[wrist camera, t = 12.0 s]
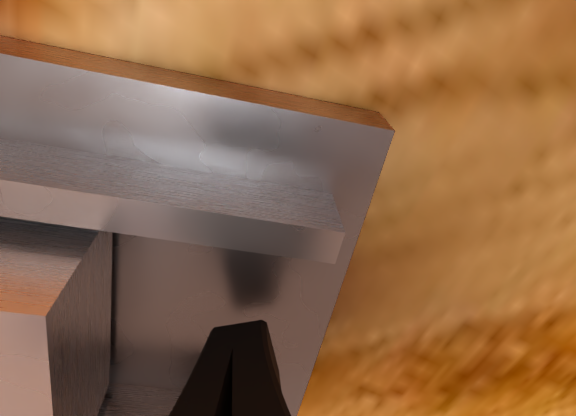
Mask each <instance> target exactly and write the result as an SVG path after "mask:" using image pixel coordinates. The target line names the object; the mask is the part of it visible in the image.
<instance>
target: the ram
mask: <svg viewBox="0 0 576 416" xmlns="http://www.w3.org/2000/svg"><path fill="white" fill-rule="evenodd" d="M112 236H113V232H107V231H100V230H93V229H86V228H78V227H71V226H64V225H57V224H50V223H43V222H36V221H29V220H22V219H15V218H8V217H1V216H0V416H97V415H98V413H99V410H100V407H101V405H102V402H103V399H104V397H105V394H106V391H107V389H108V386H109V383H110V337H111V286H112Z"/></svg>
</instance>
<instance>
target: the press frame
mask: <svg viewBox="0 0 576 416" xmlns="http://www.w3.org/2000/svg"><path fill="white" fill-rule="evenodd" d="M394 132H395V130H394V129H393V128H392V127H391V126H390V125H389V124H388V122H387V121H386V120H385V119H384V118H383V117H382V116H381V114H380V113H379V112H375V111H370V110H365V109H360V108H355V107H350V106H345V105H340V104H335V103H330V102H325V101H320V100H316V99H311V98H306V97H301V96H296V95H291V94H286V93H281V92H276V91H271V90H266V89H261V88H256V87H251V86H246V85H241V84H236V83H231V82H226V81H222V80H217V79H212V78H207V77H202V76H197V75H192V74H187V73H182V72H177V71H172V70H167V69H162V68H157V67H152V66H147V65H142V64H137V63H132V62H127V61H123V60H118V59H113V58H108V57H103V56H98V55H93V54H88V53H83V52H78V51H73V50H68V49H63V48H58V47H53V46H48V45H43V44H38V43H33V42H28V41H24V40H19V39H14V38H9V37H4V36H0V216H1V217H8V218H15V219H22V220H29V221H36V222H43V223H50V224H57V225H64V226H71V227H78V228H86V229H93V230H100V231H107V232H113V236H112V286H111V337H110V383H109V386H108V389H107V391H106V394H105V397H104V399H103V402H102V405H101V407H100V410H99V413H98V415H97V416H169V414H170V412H171V411H172V409H173V407H174V405H175V403H176V401H177V399H178V398H179V396H180V394H181V392H182V390H183V388H184V386H185V384H186V382H187V380H188V379H189V377H190V375H191V373H192V371H193V369H194V366H195V364H196V362H197V360H198V358H199V356H200V354H201V352H202V350H203V347H204V345H205V343H206V341H207V338H208V336H209V334H210V332H211V330H212V329H213V328H214V327H219V326H225V325H231V324H238V323H244V322H250V321H256V320H263V321H265V322H267V325H268V329H269V333H270V337H271V341H272V345H273V349H274V353H275V357H276V361H277V365H278V369H279V374H280V383H281V390H282V394H283V397H284V399H285V402H286V404H287V407H288V409H289V412H290V414H291V416H297V414H298V411H299V408H300V405H301V402H302V399H303V396H304V393H305V390H306V388H307V385H308V382H309V379H310V376H311V373H312V370H313V367H314V364H315V361H316V358H317V356H318V353H319V350H320V347H321V344H322V341H323V338H324V335H325V332H326V329H327V327H328V324H329V321H330V318H331V315H332V312H333V309H334V306H335V303H336V300H337V298H338V295H339V292H340V289H341V286H342V283H343V280H344V277H345V274H346V271H347V269H348V266H349V263H350V260H351V257H352V254H353V251H354V248H355V245H356V242H357V239H358V237H359V234H360V231H361V228H362V225H363V222H364V219H365V216H366V213H367V210H368V208H369V205H370V202H371V199H372V196H373V193H374V190H375V187H376V184H377V181H378V179H379V176H380V173H381V170H382V167H383V164H384V161H385V158H386V155H387V152H388V150H389V147H390V144H391V141H392V138H393V135H394Z"/></svg>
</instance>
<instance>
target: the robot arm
mask: <svg viewBox="0 0 576 416" xmlns="http://www.w3.org/2000/svg"><path fill="white" fill-rule="evenodd" d="M169 416H291V414H290V412H289V409H288V407H287V404H286V402H285V399H284V397H283V394H282V390H281V383H280V374H279V369H278V365H277V361H276V357H275V353H274V349H273V345H272V341H271V337H270V333H269V329H268V325H267V322H265V321H263V320H256V321H250V322H244V323H238V324H231V325H225V326H219V327H214V328H213V329H212V330H211V332H210V334H209V336H208V338H207V341H206V343H205V345H204V347H203V350H202V352H201V354H200V356H199V358H198V360H197V362H196V364H195V366H194V369H193V371H192V373H191V375H190V377H189V379H188V380H187V382H186V384H185V386H184V388H183V390H182V392H181V394H180V396H179V398H178V399H177V401H176V403H175V405H174V407H173V409H172V411H171V412H170V414H169Z"/></svg>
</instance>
